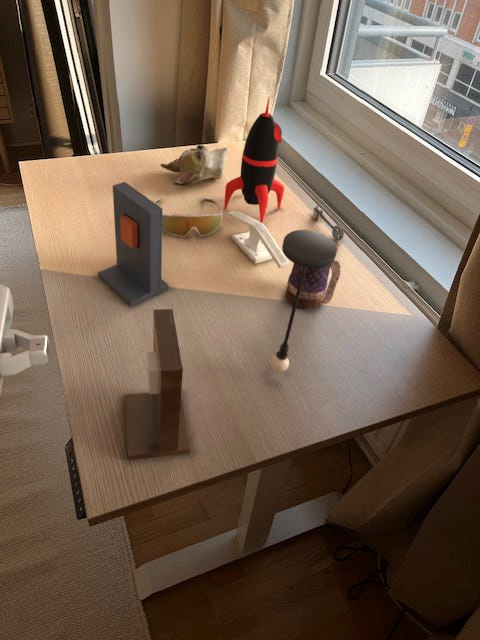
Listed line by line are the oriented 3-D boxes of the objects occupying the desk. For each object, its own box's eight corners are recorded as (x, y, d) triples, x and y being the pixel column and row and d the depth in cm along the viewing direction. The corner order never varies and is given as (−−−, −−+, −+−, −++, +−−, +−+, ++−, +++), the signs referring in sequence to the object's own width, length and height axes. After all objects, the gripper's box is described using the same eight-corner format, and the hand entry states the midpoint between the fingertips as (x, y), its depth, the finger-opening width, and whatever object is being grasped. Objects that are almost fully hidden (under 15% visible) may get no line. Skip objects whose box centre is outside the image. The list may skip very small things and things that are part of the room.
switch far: (132, 248, 85) (131, 226, 83) (121, 239, 87) (119, 217, 84) (138, 246, 86) (137, 224, 83) (126, 237, 88) (126, 215, 85)
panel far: (131, 306, 88) (128, 221, 77) (98, 276, 93) (90, 192, 81) (168, 288, 93) (170, 205, 81) (135, 261, 97) (132, 178, 86)
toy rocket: (261, 226, 111) (280, 110, 94) (221, 209, 114) (233, 93, 98) (282, 208, 118) (304, 96, 101) (244, 192, 121) (259, 81, 104)
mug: (278, 288, 96) (289, 234, 88) (310, 282, 99) (325, 229, 91) (304, 325, 90) (319, 270, 82) (338, 317, 92) (356, 263, 84)
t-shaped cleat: (270, 279, 98) (274, 256, 94) (219, 224, 110) (221, 202, 106) (287, 274, 100) (292, 251, 96) (235, 221, 112) (238, 199, 108)
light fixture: (247, 381, 79) (273, 246, 62) (268, 355, 84) (297, 223, 67) (286, 401, 77) (324, 268, 60) (304, 374, 82) (345, 243, 65)
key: (342, 244, 110) (346, 231, 108) (338, 245, 110) (342, 231, 107) (314, 214, 118) (318, 201, 115) (310, 215, 117) (314, 202, 115)
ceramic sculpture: (237, 151, 116) (173, 161, 111) (235, 186, 122) (174, 196, 117) (218, 131, 123) (158, 140, 118) (217, 165, 129) (160, 174, 124)
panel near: (128, 460, 67) (123, 373, 55) (124, 398, 74) (119, 311, 62) (189, 453, 69) (197, 368, 57) (180, 394, 76) (185, 308, 64)
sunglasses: (158, 240, 103) (158, 216, 100) (149, 209, 115) (149, 188, 112) (227, 237, 106) (229, 215, 104) (212, 208, 118) (213, 187, 115)
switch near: (149, 394, 64) (149, 371, 61) (147, 375, 66) (147, 351, 63) (158, 393, 64) (159, 370, 61) (156, 374, 67) (157, 350, 64)
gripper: (-62, 314, 64) (55, 308, 68) (-105, 456, 50) (46, 441, 53) (-77, 274, 60) (49, 270, 63) (-129, 417, 46) (37, 403, 49)
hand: (47, 349), depth 58 cm, fingers closed
